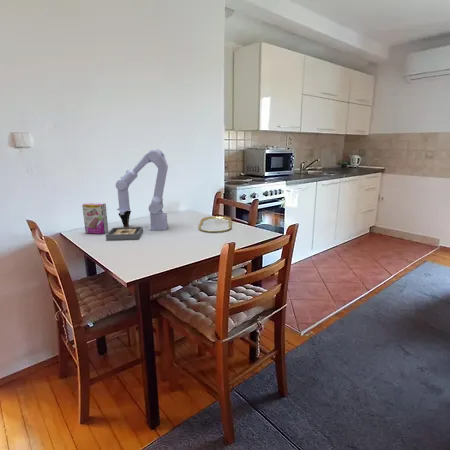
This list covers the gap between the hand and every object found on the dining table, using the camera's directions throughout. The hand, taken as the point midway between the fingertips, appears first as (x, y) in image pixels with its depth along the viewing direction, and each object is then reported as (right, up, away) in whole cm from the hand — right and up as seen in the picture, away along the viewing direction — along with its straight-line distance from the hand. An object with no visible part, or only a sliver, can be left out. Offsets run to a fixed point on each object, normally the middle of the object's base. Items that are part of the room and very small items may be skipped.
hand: (125, 224), depth 187 cm
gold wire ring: (+51, -1, +7) cm, 52 cm away
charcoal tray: (+4, -6, -15) cm, 16 cm away
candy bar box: (-13, -5, -8) cm, 16 cm away
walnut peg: (0, -2, +1) cm, 2 cm away
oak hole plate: (+4, -6, -15) cm, 16 cm away
